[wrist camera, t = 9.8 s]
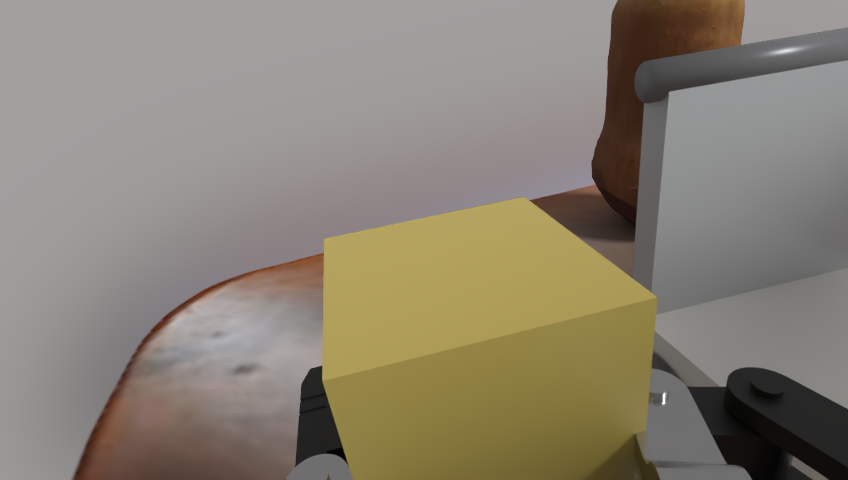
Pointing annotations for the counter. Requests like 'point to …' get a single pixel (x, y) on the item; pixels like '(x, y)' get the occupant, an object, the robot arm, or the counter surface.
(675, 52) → the butternut squash
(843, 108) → the trolley
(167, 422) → the counter surface
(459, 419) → the yellow rectangular block
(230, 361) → the counter surface
